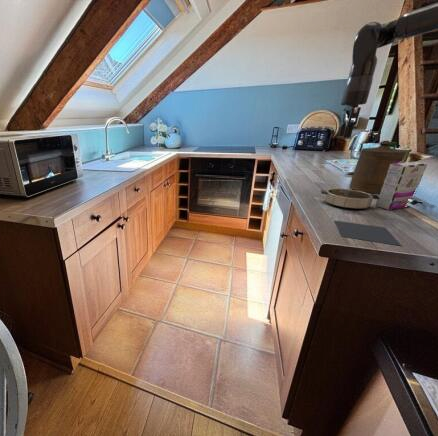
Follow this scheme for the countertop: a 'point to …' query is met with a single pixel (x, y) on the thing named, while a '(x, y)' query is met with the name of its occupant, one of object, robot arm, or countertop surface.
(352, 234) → the mat
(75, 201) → the countertop surface
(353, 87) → the robot arm
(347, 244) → the countertop surface
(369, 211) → the countertop surface
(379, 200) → the candy bar box
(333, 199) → the pan
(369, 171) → the wooden container
